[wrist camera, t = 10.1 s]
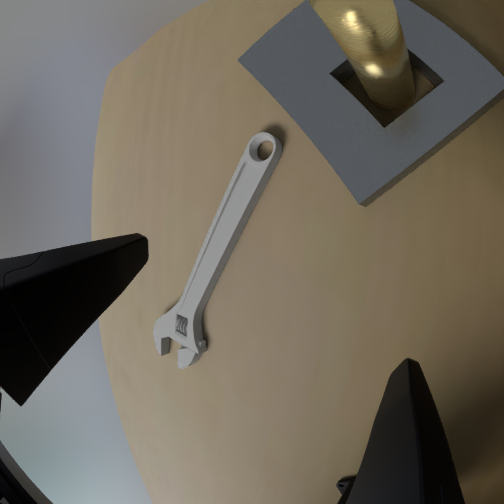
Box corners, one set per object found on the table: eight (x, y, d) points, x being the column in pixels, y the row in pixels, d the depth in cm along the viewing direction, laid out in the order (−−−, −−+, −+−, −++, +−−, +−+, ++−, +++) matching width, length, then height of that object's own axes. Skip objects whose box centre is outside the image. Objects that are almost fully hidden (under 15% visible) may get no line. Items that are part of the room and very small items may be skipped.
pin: (422, 81, 14) (399, -23, 5) (403, 119, 15) (371, 26, 7) (378, 62, 15) (327, -34, 7) (358, 98, 17) (295, 10, 8)
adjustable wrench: (266, 131, 22) (254, 125, 20) (328, 169, 19) (320, 163, 18) (159, 334, 31) (147, 337, 30) (191, 375, 29) (179, 381, 27)
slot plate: (504, 96, 10) (510, 83, 8) (365, 207, 17) (358, 204, 16) (356, -16, 14) (349, -30, 13) (250, 69, 21) (237, 60, 20)
